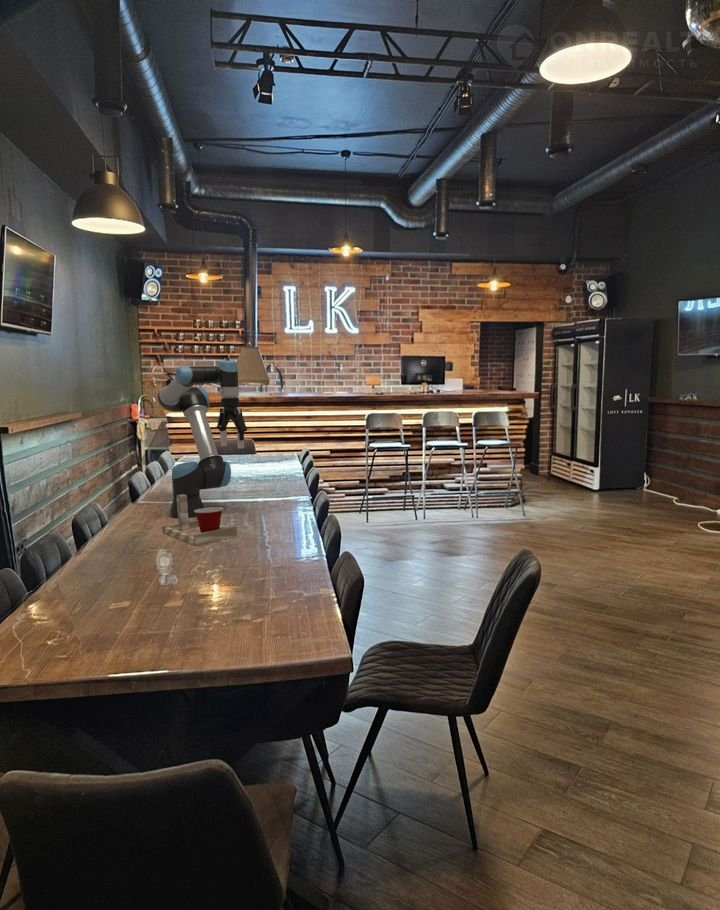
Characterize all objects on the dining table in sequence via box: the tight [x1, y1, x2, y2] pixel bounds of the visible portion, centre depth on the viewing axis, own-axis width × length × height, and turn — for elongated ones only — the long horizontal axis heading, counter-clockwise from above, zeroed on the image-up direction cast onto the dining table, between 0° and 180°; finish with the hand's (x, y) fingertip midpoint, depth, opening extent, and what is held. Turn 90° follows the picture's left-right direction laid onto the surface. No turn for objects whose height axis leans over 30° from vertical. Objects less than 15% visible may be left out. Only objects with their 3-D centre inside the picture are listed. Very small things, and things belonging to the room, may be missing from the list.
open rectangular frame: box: [162, 494, 238, 547], centre depth 228 cm, size 28×17×14 cm, turn 44°
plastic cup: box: [194, 506, 224, 533], centre depth 222 cm, size 11×11×12 cm
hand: (232, 447), depth 250 cm, fingers open, 13 cm apart
